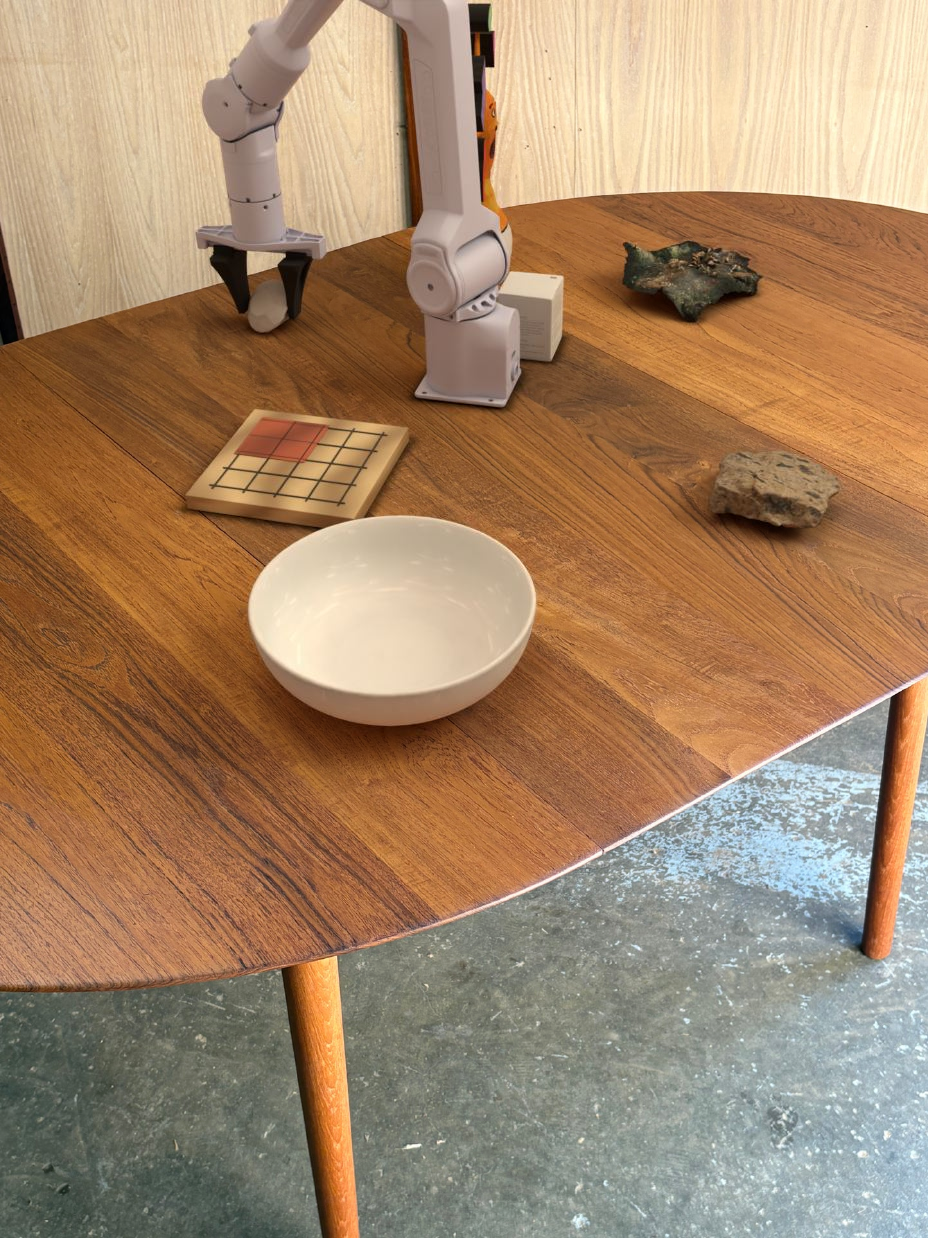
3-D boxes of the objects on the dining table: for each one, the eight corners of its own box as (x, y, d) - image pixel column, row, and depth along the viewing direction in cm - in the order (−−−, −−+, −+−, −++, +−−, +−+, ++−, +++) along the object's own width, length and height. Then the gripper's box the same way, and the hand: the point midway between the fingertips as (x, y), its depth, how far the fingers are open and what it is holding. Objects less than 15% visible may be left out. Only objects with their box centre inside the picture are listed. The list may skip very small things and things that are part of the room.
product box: (509, 332, 136) (509, 269, 132) (563, 337, 135) (565, 274, 130) (496, 356, 132) (495, 292, 127) (551, 362, 130) (552, 298, 126)
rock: (848, 485, 110) (857, 444, 108) (817, 550, 103) (825, 507, 100) (735, 460, 114) (740, 420, 112) (697, 520, 107) (701, 479, 104)
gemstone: (316, 293, 138) (287, 277, 134) (302, 346, 139) (272, 331, 135) (278, 288, 142) (248, 273, 138) (264, 340, 142) (234, 326, 138)
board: (409, 440, 118) (408, 426, 117) (355, 532, 106) (353, 517, 105) (256, 421, 122) (254, 407, 121) (187, 508, 110) (184, 494, 109)
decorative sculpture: (505, 316, 139) (506, 33, 120) (436, 314, 140) (426, 33, 121) (517, 248, 155) (519, -13, 136) (454, 246, 155) (448, -13, 137)
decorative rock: (669, 213, 152) (785, 227, 145) (667, 262, 155) (780, 278, 148) (598, 256, 139) (722, 273, 132) (597, 308, 142) (718, 328, 135)
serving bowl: (309, 802, 82) (298, 728, 78) (228, 624, 97) (215, 554, 93) (583, 712, 88) (587, 639, 84) (467, 558, 103) (465, 489, 99)
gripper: (331, 184, 131) (342, 303, 139) (207, 175, 134) (225, 292, 143) (308, 208, 126) (320, 330, 134) (179, 198, 129) (200, 318, 137)
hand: (270, 312), depth 138 cm, fingers closed on gemstone, 5 cm apart
